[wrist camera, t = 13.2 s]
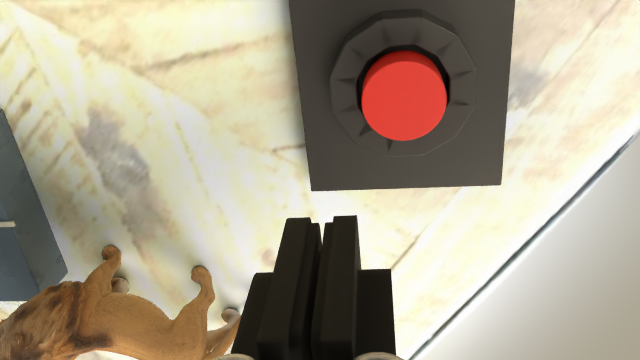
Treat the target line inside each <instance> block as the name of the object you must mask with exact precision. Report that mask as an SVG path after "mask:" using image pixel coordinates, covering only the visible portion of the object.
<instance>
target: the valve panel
mask: <svg viewBox="0 0 640 360" xmlns="http://www.w3.org/2000/svg"><path fill="white" fill-rule="evenodd" d="M67 273H68V271H67V268H66V266H65V263H64V261H63V259H62V256H61V254H60V251H59V249H58V246H57V244H56V241H55V239H54V236H53V234H52V231H51V229H50V226H49V224H48V221H47V219H46V216H45V214H44V211H43V209H42V206H41V204H40V201H39V199H38V196H37V194H36V191H35V189H34V186H33V184H32V182H31V179H30V177H29V174H28V172H27V169H26V167H25V164H24V162H23V159H22V157H21V154H20V152H19V149H18V147H17V144H16V142H15V139H14V137H13V134H12V132H11V129H10V127H9V124H8V122H7V119H6V117H5V114H4V112H3V110H2V109H0V301H28V300H30V299H31V298H33V297H34V296H36V295H37V294H39V293H40V292H41V291H43V290H44V289H45V288H47V287H49V286H52V285H54V286H57V285H58V283H59V282H60V281H61V280H62V279H63V277H64V276H65V275H66V274H67Z"/></svg>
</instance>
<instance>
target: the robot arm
mask: <svg viewBox="0 0 640 360" xmlns="http://www.w3.org/2000/svg"><path fill="white" fill-rule="evenodd" d="M212 360H403V359H401V358H400V357H398V356H396V348H395V331H394V314H393V297H392V281H391V269H369V270H361V260H360V247H359V235H358V223H357V215H354V216H334V219H333V222H330V223H325V228H324V236H323V243H322V241H321V233H320V226H319V223H311V219H310V217H306V218H288V219H287V220H286V223H285V227H284V231H283V235H282V239H281V243H280V247H279V251H278V255H277V259H276V263H275V267H274V271H273V272H268V273H256V274H255V275H254V277H253V280H252V283H251V286H250V290H249V293H248V296H247V300H246V303H245V306H244V310H243V313H242V316H241V320H240V323H239V326H238V330H237V333H236V336H235V340H234V343H233V347H232V350H231V353H230V354H227V355H223V356H219V357H216V358H214V359H212Z"/></svg>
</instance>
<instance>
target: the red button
mask: <svg viewBox="0 0 640 360" xmlns="http://www.w3.org/2000/svg"><path fill="white" fill-rule="evenodd" d="M446 103H447V94H446V89H445V86H444V83H443V80H442V77H441V74H440V72H439V70H438V68H437V67H436V65H435V64H434V63H433V62H432V61H431V60H430V59H429V58H428V57H426V56H424V55H423V54H420V53H418V52H414V51H409V50H400V51H394V52H391V53H388V54H386V55H384V56H382V57H381V58H379V59H378V60H377V61H376V62H375V63H373V65H372V66H371V67H370V68H369V70H368V72H367V74H366V76H365V79H364V83H363V90H362V110H363V114H364V116H365V119H366V120H367V122H368V124H369V125H370V126H371V127H372V128H373V129H374V130H375V131H376V132H377V133H379V134H380V135H382V136H384V137H387V138H389V139H393V140H401V141H405V140H412V139H416V138H419V137H421V136H423V135H425V134H427V133H428V132H430V131H431V130H432V129H433V128H434V127H435V126H436V125H437V124H438V123H439V121H440V120H441V118H442V116H443V114H444V112H445V109H446Z"/></svg>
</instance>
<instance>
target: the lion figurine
mask: <svg viewBox="0 0 640 360" xmlns="http://www.w3.org/2000/svg"><path fill="white" fill-rule="evenodd" d="M102 256H103V259H104V260H106V261H105V262H103V263H102V264H101V265H100V266H99V267H97V268H96V269H95V270H94V271H93V272H92V273H91V274H90V275H89V276H88V278H87V279H86V280H85V282H84V283H82V282H79V281H76V282H72V281H68V282H67V281H64V282H62V283H60V284H59V285H57V286H54V285H52V286H49V287H47V288H45V289H44V290H43V291H41V292H40V293H39V294H37V295H36V296H34V297H33V298H31V299H30V300H28V301H27V302H26V303H24V304H22V305H20V306H19V307H18V308H17V309H16V310H15V311H14V312H13V313H12V314H11V315H10V316H9V317H8V318H7V319H5V320H2V321H1V322H0V360H74V359H75V358H76V357H77V356H78V355H79V354H83V353H87V352H90V351H94V350H101V351H109V352H114V353H119V354H123V355H127V356H130V357H133V358H136V359H138V360H212V359H214V358H216V357H219V356H223V355H224V353H225V352H226V351H227V349H228V348H229V347H230V345H231V344H232V342H233V341H234V339H235V336H236V333H237V330H238V326H239V323H240V320H241V316H242V315H241V316H240V314H239V313H238V312H237V311H235V310H233V309H226V310H225V311H223V313H222V315H221V316H222V318H223V320H224V321H225V322H227V323H228V324H227V325H225V326H224V327H222V328H220V329H217V330H211V331H207V311H208V308H209V306H210V305H211V304H212V302H213V301H214V299H215V294H214V291H213V287H212V282H211V276H210V273H209V272H208V271H207V270H206V269H205V268H204V267H201V266H197V267H195V268H194V269H193V271H192V275H191V278H192V280H193V281H194V282H197V283H199V284H200V286H201V290H200V293H199V295H198V296H197V297H196V298H195V299H194V300H192V301H191V302H190V303H188V304H187V305H186V306H184V307H183V309H182V310H181V311H180V313H179V315H178V316H177V317H176V318H175V319H174V320H171V319H169V318H168V317H167V316H166V315H165V313H164V312H163V311H162V310H161V309H160V308H158V307H157V306H156V305H154V304H153V303H152V302H150V301H148V300H146V299H143V298H141V297H139V296H135V295H131V294H127V292H128V291H129V283H128V281H127V280H125V279H122V278H113V279H112V277H113V275H114V273H115V272H116V270H117V269H118V268H119V267H120V266H121V253H120V252H119V250H118V249H117V248H116V247H114V246H107V247H105V249H104V250H103V252H102ZM111 279H112V280H111ZM210 351H212V352H210Z"/></svg>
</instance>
